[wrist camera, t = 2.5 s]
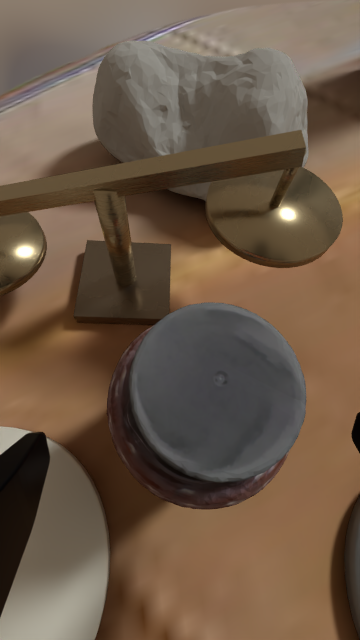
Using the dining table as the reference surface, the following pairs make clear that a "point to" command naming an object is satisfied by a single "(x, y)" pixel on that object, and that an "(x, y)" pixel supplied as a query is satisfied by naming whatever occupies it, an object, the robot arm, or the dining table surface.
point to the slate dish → (353, 564)
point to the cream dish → (60, 556)
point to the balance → (154, 259)
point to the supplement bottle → (206, 405)
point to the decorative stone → (193, 101)
